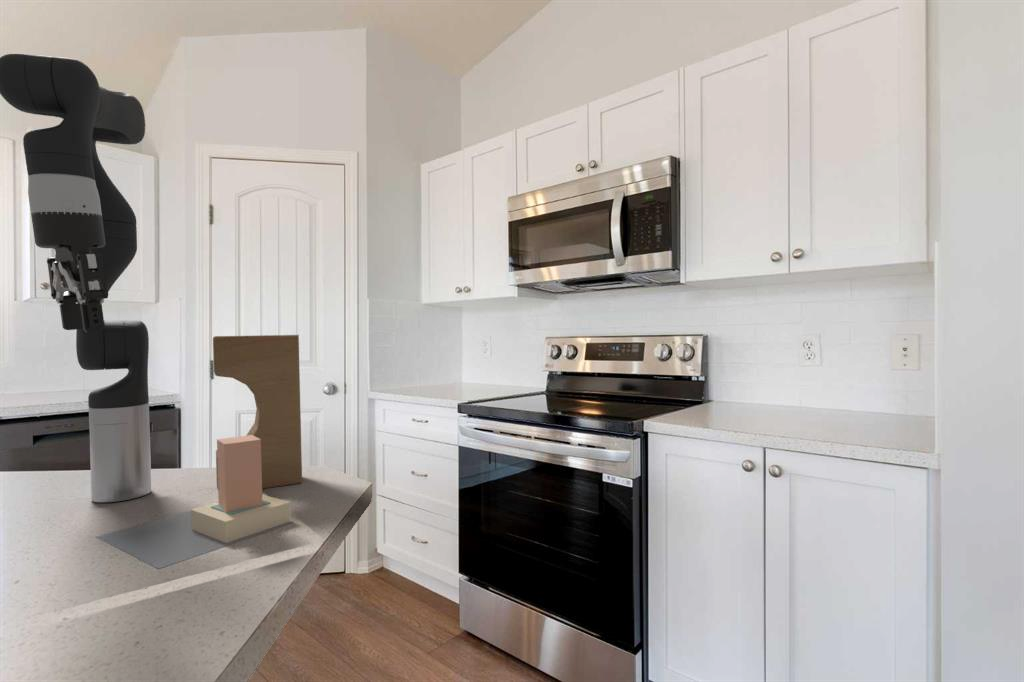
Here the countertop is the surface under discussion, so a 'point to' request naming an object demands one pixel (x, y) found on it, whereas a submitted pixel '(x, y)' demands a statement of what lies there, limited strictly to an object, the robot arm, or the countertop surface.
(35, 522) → the countertop surface
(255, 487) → the terracotta block
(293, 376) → the decorative block
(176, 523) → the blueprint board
